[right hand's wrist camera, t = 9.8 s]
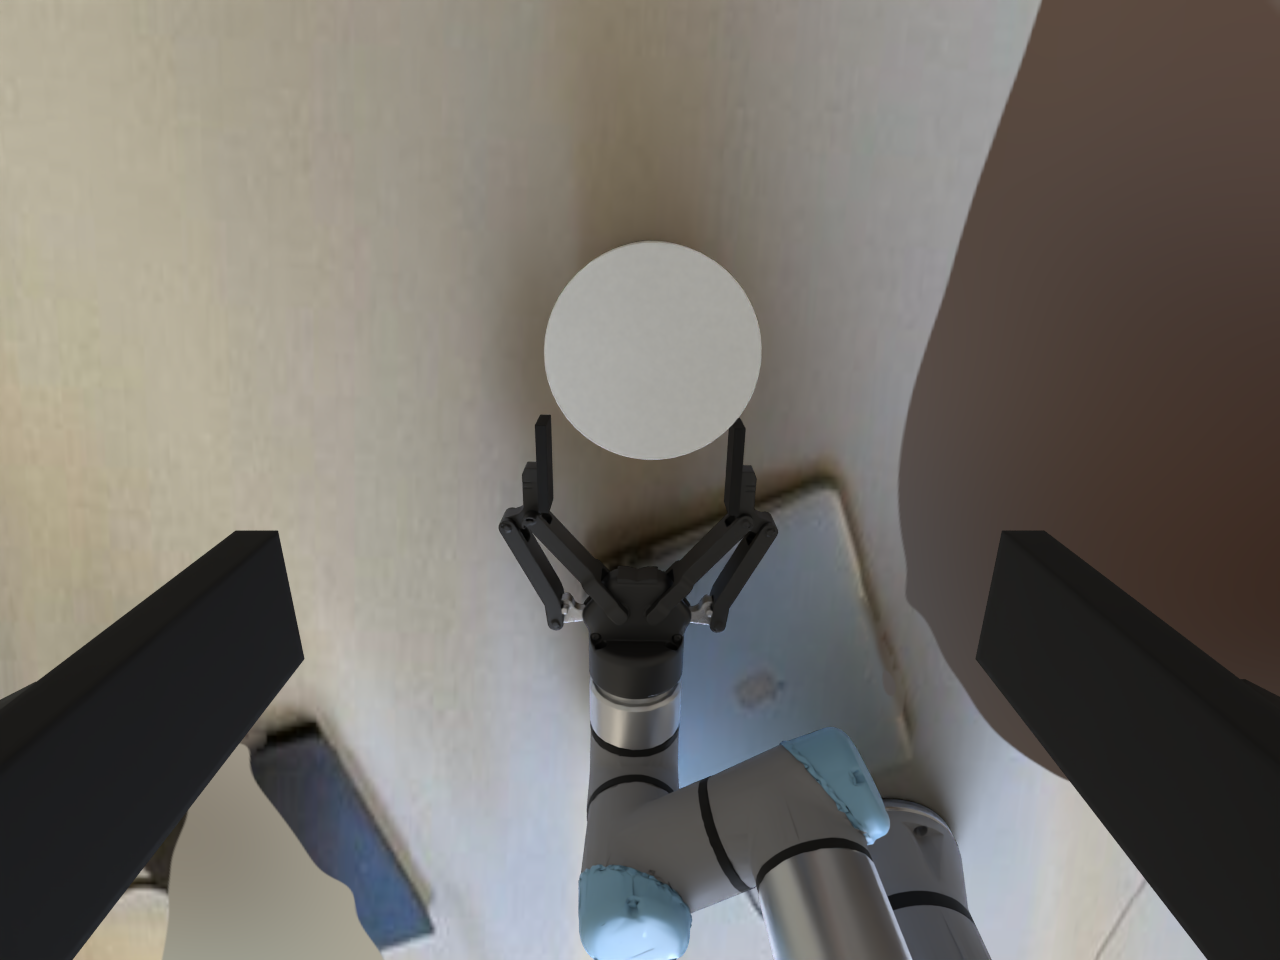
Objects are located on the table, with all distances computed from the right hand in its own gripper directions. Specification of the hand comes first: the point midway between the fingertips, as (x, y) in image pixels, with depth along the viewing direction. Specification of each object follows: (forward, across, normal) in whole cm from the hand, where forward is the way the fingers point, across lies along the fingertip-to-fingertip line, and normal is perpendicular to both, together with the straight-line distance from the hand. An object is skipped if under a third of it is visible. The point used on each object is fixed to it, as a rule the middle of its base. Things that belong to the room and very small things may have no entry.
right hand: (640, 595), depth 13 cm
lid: (+24, -1, 0) cm, 24 cm away
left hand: (+35, 0, +6) cm, 36 cm away
